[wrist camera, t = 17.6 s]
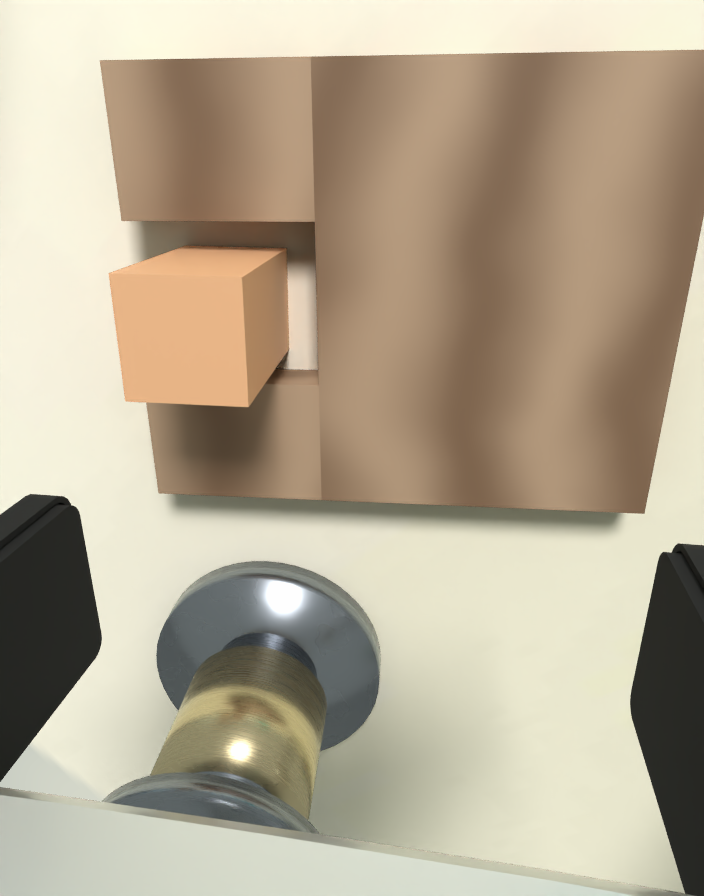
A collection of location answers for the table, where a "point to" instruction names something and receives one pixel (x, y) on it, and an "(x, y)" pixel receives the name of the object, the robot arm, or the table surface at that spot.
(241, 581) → the bobbin
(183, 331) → the light orange block
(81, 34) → the table surface
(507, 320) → the notched board
